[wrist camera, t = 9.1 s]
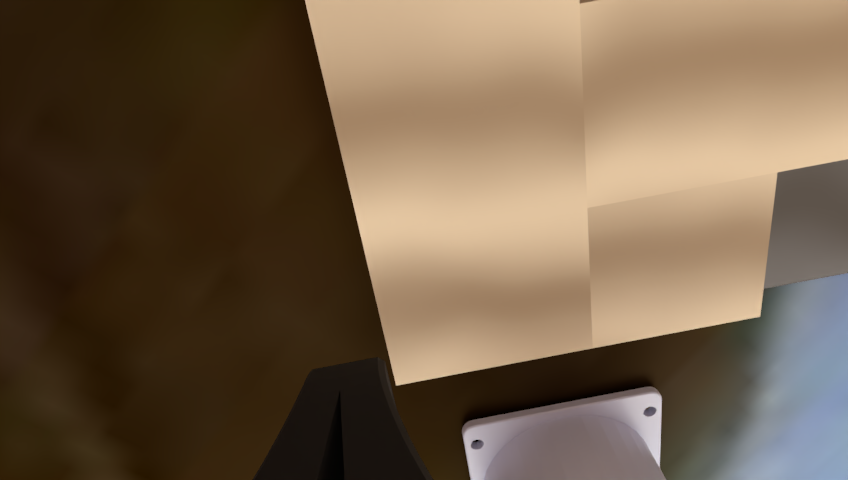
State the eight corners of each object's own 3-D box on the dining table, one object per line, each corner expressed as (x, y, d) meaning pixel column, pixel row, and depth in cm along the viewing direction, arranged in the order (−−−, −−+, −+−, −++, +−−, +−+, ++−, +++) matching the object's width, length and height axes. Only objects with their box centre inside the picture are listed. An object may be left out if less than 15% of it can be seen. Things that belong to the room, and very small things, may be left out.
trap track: (1076, 229, 23) (1119, 248, 22) (394, 358, 23) (396, 385, 21) (1311, -380, 15) (1403, -409, 14) (265, -192, 15) (256, -202, 13)
